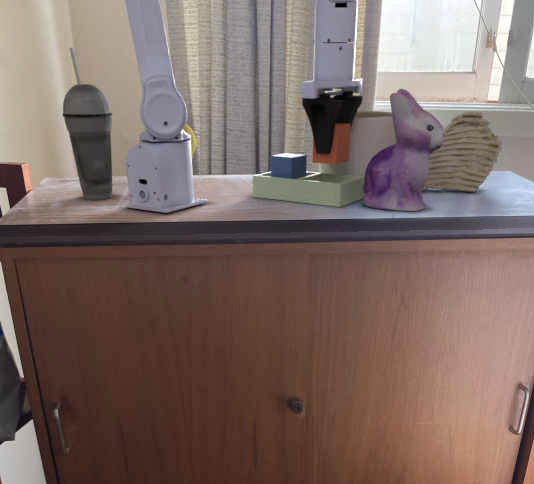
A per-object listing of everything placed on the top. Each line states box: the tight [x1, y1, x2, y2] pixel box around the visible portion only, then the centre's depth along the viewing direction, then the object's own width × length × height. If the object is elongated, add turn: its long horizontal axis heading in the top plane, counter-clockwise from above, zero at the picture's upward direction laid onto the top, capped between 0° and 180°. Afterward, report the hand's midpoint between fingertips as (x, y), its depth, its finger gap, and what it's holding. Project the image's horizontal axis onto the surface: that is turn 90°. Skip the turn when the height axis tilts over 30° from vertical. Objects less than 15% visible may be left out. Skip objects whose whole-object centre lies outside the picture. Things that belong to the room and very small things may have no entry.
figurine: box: [362, 88, 446, 212], centre depth 97 cm, size 9×10×15 cm
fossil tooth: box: [422, 111, 503, 193], centre depth 109 cm, size 12×6×15 cm
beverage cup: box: [62, 47, 114, 201], centre depth 102 cm, size 7×7×20 cm
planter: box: [319, 110, 396, 177], centre depth 111 cm, size 12×12×11 cm
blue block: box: [270, 152, 308, 179], centre depth 106 cm, size 4×4×5 cm
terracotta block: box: [312, 123, 350, 164], centre depth 101 cm, size 4×4×5 cm
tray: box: [252, 170, 365, 208], centre depth 106 cm, size 15×8×3 cm, turn 57°
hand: (330, 151), depth 101 cm, fingers closed on terracotta block, 4 cm apart
